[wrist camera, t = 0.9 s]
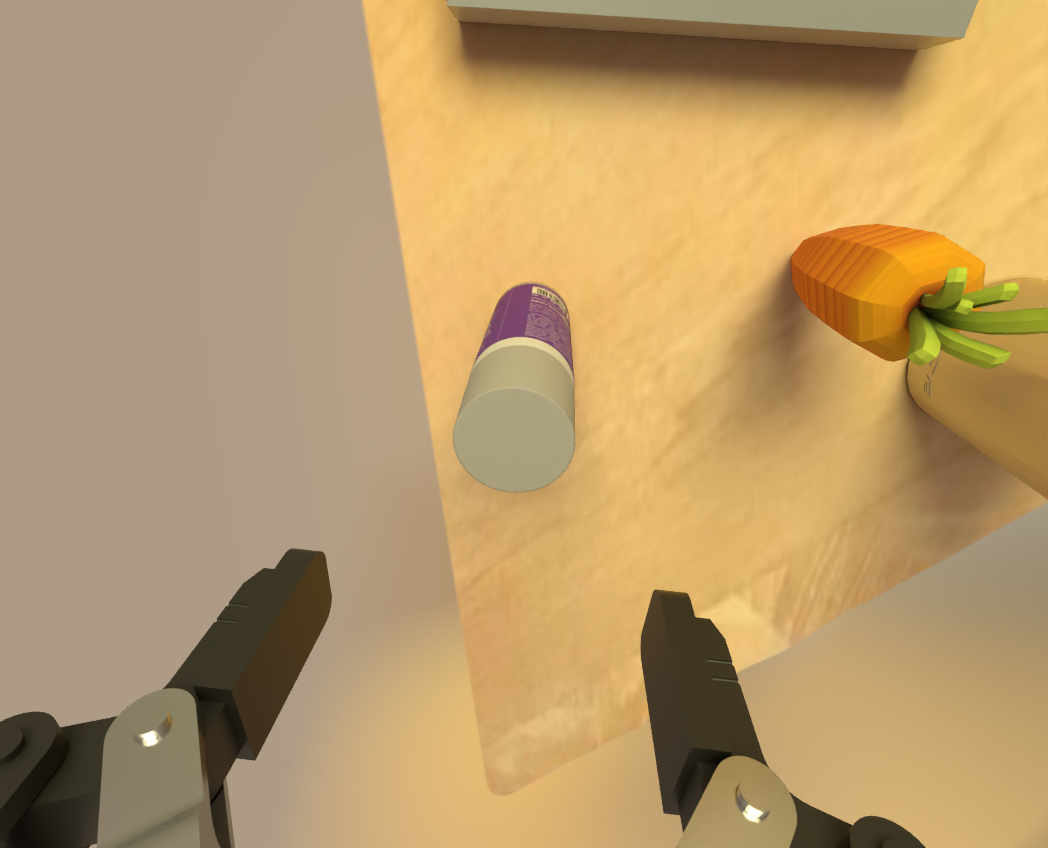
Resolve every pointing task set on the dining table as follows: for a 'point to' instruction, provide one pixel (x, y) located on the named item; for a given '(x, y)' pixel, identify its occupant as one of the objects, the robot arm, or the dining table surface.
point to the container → (520, 394)
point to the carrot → (907, 294)
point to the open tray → (744, 19)
